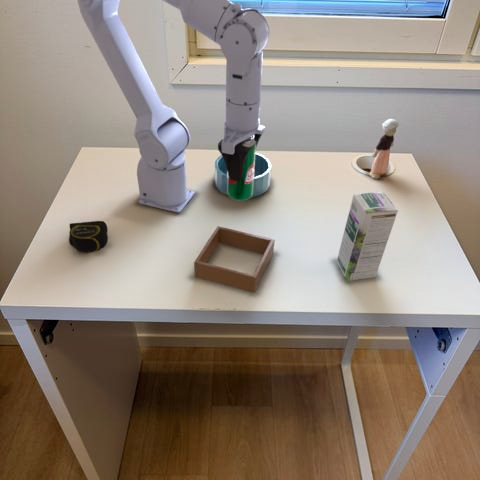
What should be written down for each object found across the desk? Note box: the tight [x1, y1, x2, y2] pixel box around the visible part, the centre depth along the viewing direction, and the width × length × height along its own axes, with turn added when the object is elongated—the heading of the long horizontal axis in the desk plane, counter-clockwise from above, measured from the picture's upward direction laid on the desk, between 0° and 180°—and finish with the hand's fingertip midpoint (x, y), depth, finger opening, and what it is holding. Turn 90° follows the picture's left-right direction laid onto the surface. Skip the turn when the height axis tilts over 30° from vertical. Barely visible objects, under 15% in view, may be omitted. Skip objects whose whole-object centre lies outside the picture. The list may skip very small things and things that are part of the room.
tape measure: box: [68, 220, 109, 254], centre depth 87 cm, size 7×7×4 cm
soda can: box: [227, 135, 257, 202], centre depth 87 cm, size 5×5×12 cm
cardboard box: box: [193, 225, 276, 294], centre depth 84 cm, size 11×11×4 cm
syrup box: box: [336, 191, 399, 282], centre depth 80 cm, size 6×6×14 cm
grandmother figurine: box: [368, 118, 400, 180], centre depth 104 cm, size 8×4×13 cm, turn 148°
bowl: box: [214, 152, 272, 199], centre depth 103 cm, size 12×12×4 cm
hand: (240, 172), depth 87 cm, fingers closed on soda can, 5 cm apart
